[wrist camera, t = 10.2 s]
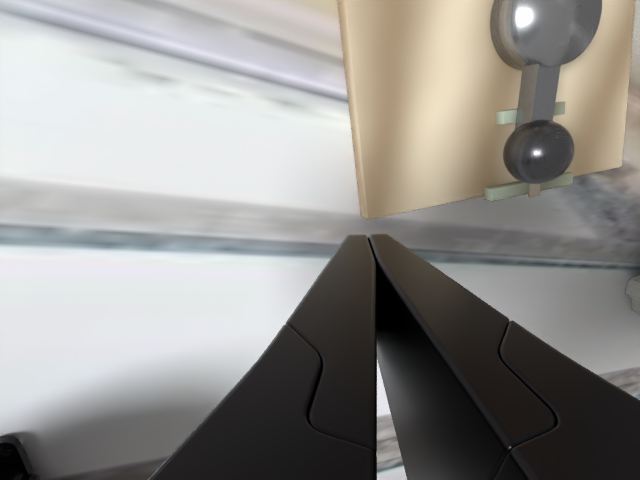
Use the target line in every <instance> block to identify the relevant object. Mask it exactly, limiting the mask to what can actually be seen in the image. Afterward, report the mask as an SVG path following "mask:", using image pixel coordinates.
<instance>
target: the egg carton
mask: <svg viewBox="0 0 640 480" xmlns="http://www.w3.org/2000/svg"><path fill="white" fill-rule="evenodd" d="M625 293H626V294H628V295H629V296H630V297H631V298H632V310H633V311H635V312H638V313H640V274H639V275H638V276H636V277H634V278H631V279H630V280H629V282H628V284H627V288H626V290H625Z"/></svg>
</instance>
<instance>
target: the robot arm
mask: <svg viewBox="0 0 640 480" xmlns="http://www.w3.org/2000/svg"><path fill="white" fill-rule="evenodd" d="M377 359H378V363H379V367H380V371H381V375H382V379H383V383H384V387H385V391H386V395H387V399H388V403H389V407H390V412H391V416H392V420H393V424H394V428H395V432H396V436H397V440H398V444H399V448H400V452H401V456H402V460H403V464H404V468H405V472H406V476H407V480H640V400H638V399H637V398H635V397H633V396H632V395H630V394H628V393H626V392H625V391H623V390H621V389H620V388H618V387H616V386H615V385H613V384H611V383H609V382H608V381H606V380H604V379H603V378H601V377H599V376H598V375H596V374H594V373H593V372H591V371H590V370H588V369H586V368H585V367H583V366H581V365H580V364H578V363H576V362H575V361H573V360H572V359H570V358H568V357H567V356H565V355H563V354H562V353H560V352H559V351H557V350H556V349H554V348H553V347H551V346H550V345H548V344H547V343H545V342H544V341H542V340H541V339H539V338H538V337H536V336H535V335H533V334H532V333H530V332H529V331H527V330H526V329H524V328H523V327H522V326H520V325H519V324H517V323H516V322H514V321H510V322H509V319H508V318H507V317H506V316H504V315H503V314H501V313H500V312H499V311H497V310H496V309H494V308H493V307H491V306H490V305H488V304H487V303H486V302H484V301H483V300H481V299H480V298H478V297H477V296H476V295H474V294H473V293H471V292H470V291H468V290H467V289H465V288H464V287H463V286H461V285H460V284H458V283H457V282H455V281H454V280H453V279H451V278H450V277H448V276H447V275H445V274H444V273H442V272H441V271H440V270H438V269H437V268H435V267H434V266H432V265H431V264H430V263H428V262H427V261H425V260H424V259H422V258H421V257H419V256H418V255H417V254H415V253H414V252H412V251H411V250H409V249H408V248H407V247H405V246H404V245H402V244H401V243H399V242H398V241H396V240H395V239H394V238H392V237H391V236H389V235H387V234H376V235H369V236H368V238H367V236H366V235H348V236H346V238H345V239H344V241H343V242H342V243H341V245H340V246H339V248H338V249H337V251H336V252H335V253H334V255H333V256H332V258H331V259H330V261H329V262H328V263H327V265H326V266H325V268H324V269H323V271H322V272H321V273H320V275H319V276H318V278H317V279H316V281H315V282H314V283H313V285H312V286H311V288H310V289H309V291H308V292H307V293H306V295H305V296H304V298H303V299H302V301H301V302H300V304H299V305H298V306H297V308H296V309H295V311H294V312H293V314H292V315H291V316H290V318H289V319H288V321H287V322H286V325H284V326H283V327H282V328H281V330H280V331H279V333H278V334H277V335H276V337H275V338H274V340H273V341H272V342H271V344H270V345H269V346H268V348H267V349H266V350H265V352H264V353H263V354H262V355H261V357H260V358H259V359H258V361H257V362H256V363H255V364H254V365H253V366H252V367H251V369H250V370H249V371H248V372H247V373H246V374H245V375H244V376H243V378H242V379H241V380H240V381H239V382H238V383H237V384H236V386H235V387H234V388H233V389H232V390H231V391H230V392H229V393H228V394H227V395H226V396H225V397H224V398H223V399H222V401H221V402H220V403H219V404H218V405H217V406H216V407H215V408H214V409H213V410H212V411H211V412H210V413H209V414H208V416H207V417H206V418H205V419H204V420H203V421H202V422H201V423H200V424H199V425H198V426H197V427H196V428H195V430H194V431H193V432H192V433H191V434H190V435H189V436H188V437H187V438H186V439H185V440H184V441H183V442H182V443H181V445H180V446H179V447H178V448H177V449H176V450H175V451H174V452H173V453H172V454H171V455H170V456H169V457H168V458H167V460H166V461H165V462H164V463H163V464H162V465H161V466H160V467H159V468H158V469H157V470H156V471H155V472H154V473H153V475H152V476H151V477H150V478H149V479H148V480H377V457H376V451H377ZM2 447H8V448H10V449H11V450H4V449H3V448H2ZM0 480H40V477H39V476H38V475H37V474H35V473H34V472H33V469H32V467H31V465H30V463H29V460H28V458H27V456H26V453H25V451H24V449H23V447H22V444H21V442H20V441H19V439H17V438H15V437H11V436H7V437H2V438H0Z"/></svg>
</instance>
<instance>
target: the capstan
mask: <svg viewBox="0 0 640 480" xmlns="http://www.w3.org/2000/svg"><path fill="white" fill-rule="evenodd" d="M601 12H602V0H494V2H493V6H492V10H491V16H490V32H491V38H492V42H493V45H494V47H495V50H496V52H497V53H498V55H499V56H500V58H501V59H502V60H503V61H504V62H505V63H506V64H507V65H509V66H510V67H512V68H514V69H517V70H522V77H521V85H520V93H519V100H518V108H517V116H516V124H515V130H514V131H513V132H512V133H511V135H510V136H509V137H508V139H507V141H506V143H505V146H504V150H503V161H504V164H505V167H506V169H507V170H508V172H509V173H510V174H511V175H512V176H513V177H514V178H515V179H517V180H519V181H521V182H524V183H527V184H544V183H547V182H550V181H553V180H555V179H556V178H558V177H559V176H561V175H562V174H563V173H564V172H565V171H566V170H567V169H568V167H569V166H570V164H571V162H572V160H573V157H574V152H575V146H574V141H573V138H572V136H571V134H570V133H569V131H568V130H567V129H566V128H565V127H564V126H562V125H561V124H559V123H557V122H554V121H553V115H554V108H555V101H556V94H557V88H558V81H559V74H560V67H561V65H564V64H566V63H569V62H571V61H573V60H575V59H576V58H577V57H579V56H580V55H581V54H582V53H583V52H584V51H585V50H586V48H587V47H588V46H589V44H590V43H591V41H592V40H593V38H594V36H595V34H596V31H597V29H598V26H599V22H600V18H601Z"/></svg>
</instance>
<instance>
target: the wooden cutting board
mask: <svg viewBox="0 0 640 480" xmlns="http://www.w3.org/2000/svg"><path fill="white" fill-rule="evenodd" d="M337 1H338V11H339V20H340V29H341V38H342V47H343V56H344V65H345V74H346V83H347V93H348V102H349V111H350V120H351V129H352V138H353V147H354V156H355V165H356V175H357V184H358V193H359V202H360V211H361V216H362V217H364V218H366V219H368V220H370V219H375V218H380V217H385V216H389V215H394V214H399V213H404V212H408V211H413V210H418V209H423V208H427V207H432V206H437V205H442V204H446V203H451V202H456V201H461V200H465V199H470V198H475V197H480V196H484V198H485V199H486V200H489V201H495V200H500V199H504V198H509V197H514V196H518V195H523V194H528V193H529V197H535V196H539V195H540V191H542V190H546V189H551V188H556V187H560V186H565V185H570V184H573V177H575V176H579V175H584V174H589V173H594V172H599V171H603V170H608V169H613V168H618V167H622V158H623V146H624V134H625V122H626V109H627V97H628V85H629V73H630V60H631V48H632V36H633V24H634V11H635V0H602V12H601V18H600V22H599V26H598V29H597V31H596V34H595V36H594V38H593V40H592V41H591V43H590V44H589V46H588V47H587V48H586V50H585V51H584V52H583V53H582V54H581V55H580V56H579V57H577V58H576V59H575V60H573V61H571V62H569V63H566V64H564V65H561V67H560V74H559V81H558V88H557V94H556V101H555V108H554V115H553V121H554V122H557V123H559V124H561V125H562V126H564V127H565V128H566V129H567V130H568V131H569V133H570V134H571V136H572V138H573V141H574V146H575V152H574V157H573V160H572V162H571V164H570V166H569V167H568V169H567V170H566V171H565V172H564V173H563V174H562V175H561V176H559V177H558V178H556V179H555V180H553V181H550V182H547V183H544V184H527V183H524V182H521V181H519V180H517V179H515V178H514V177H513V176H512V175H511V174H510V173H509V172H508V170H507V169H506V167H505V164H504V161H503V150H504V146H505V143H506V141H507V139H508V137H509V136H510V135H511V133H512V132H513V131H514V130H515V124H516V116H517V108H518V100H519V93H520V85H521V77H522V70H517V69H514V68H512V67H510V66H509V65H507V64H506V63H505V62H504V61H503V60H502V59H501V58H500V56H499V55H498V53H497V52H496V50H495V47H494V45H493V42H492V38H491V32H490V16H491V10H492V6H493V2H494V0H337Z"/></svg>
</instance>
